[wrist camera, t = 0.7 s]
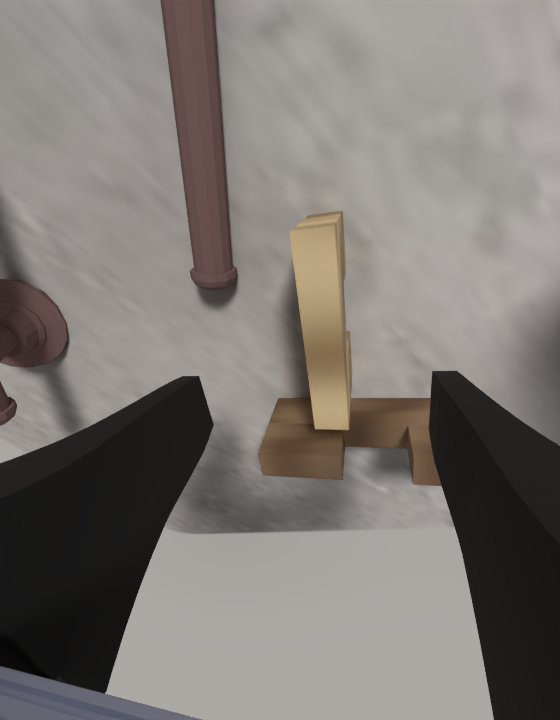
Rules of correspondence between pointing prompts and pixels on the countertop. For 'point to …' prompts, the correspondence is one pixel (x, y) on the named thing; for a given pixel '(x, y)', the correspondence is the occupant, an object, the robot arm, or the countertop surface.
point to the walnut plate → (347, 438)
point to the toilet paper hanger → (201, 185)
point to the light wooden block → (324, 316)
